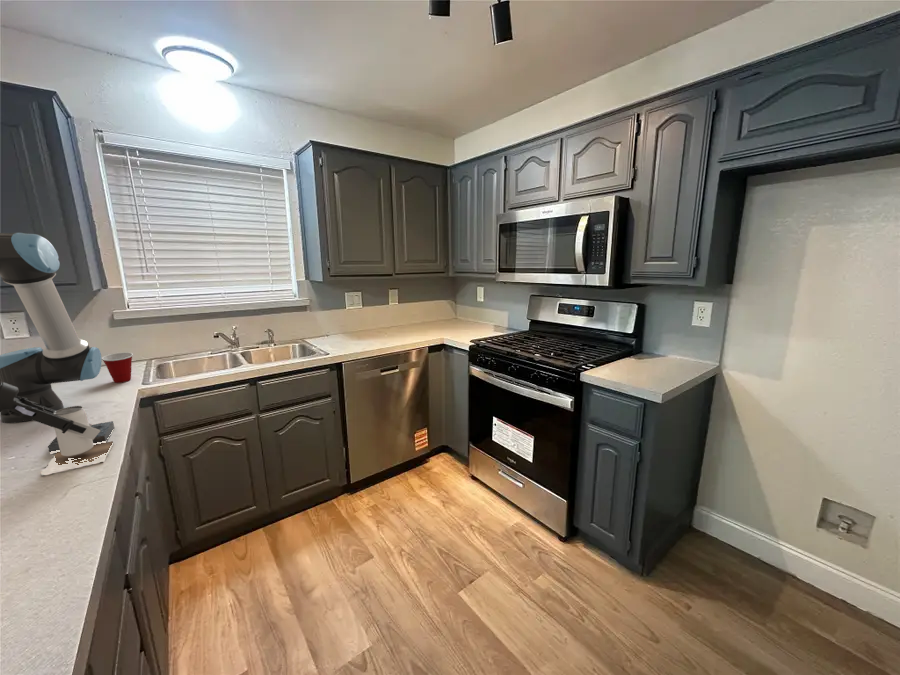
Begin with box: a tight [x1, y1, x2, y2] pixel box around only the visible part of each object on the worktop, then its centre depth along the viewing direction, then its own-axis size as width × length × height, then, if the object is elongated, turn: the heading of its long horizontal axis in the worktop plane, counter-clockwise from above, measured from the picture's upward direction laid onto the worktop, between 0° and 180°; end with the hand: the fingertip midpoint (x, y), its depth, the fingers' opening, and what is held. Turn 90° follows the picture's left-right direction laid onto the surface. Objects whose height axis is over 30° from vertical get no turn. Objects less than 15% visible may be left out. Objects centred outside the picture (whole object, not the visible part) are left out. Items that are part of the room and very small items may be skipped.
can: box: [53, 405, 94, 456], centre depth 102 cm, size 6×6×12 cm
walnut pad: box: [53, 440, 114, 465], centre depth 104 cm, size 12×12×1 cm
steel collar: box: [47, 420, 115, 452], centre depth 114 cm, size 12×12×2 cm
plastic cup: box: [101, 352, 134, 384], centre depth 168 cm, size 11×11×12 cm
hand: (92, 431), depth 105 cm, fingers closed on can, 6 cm apart
